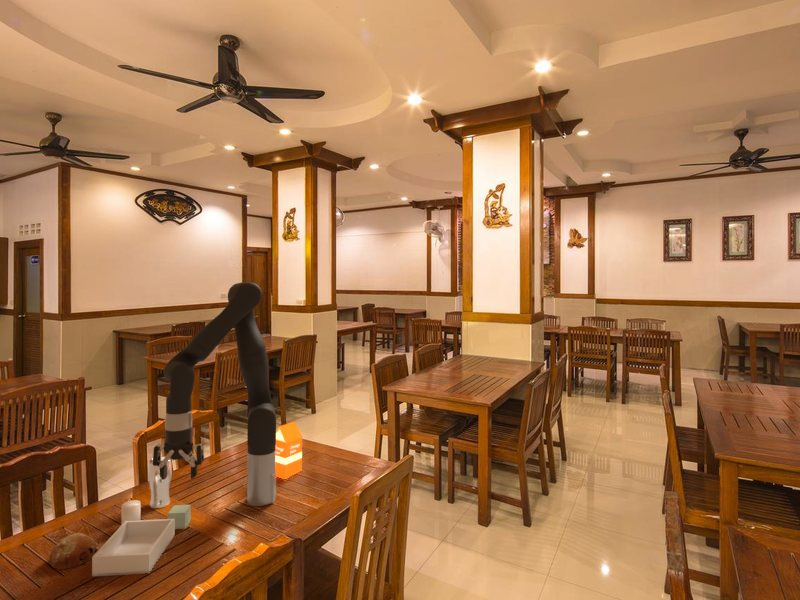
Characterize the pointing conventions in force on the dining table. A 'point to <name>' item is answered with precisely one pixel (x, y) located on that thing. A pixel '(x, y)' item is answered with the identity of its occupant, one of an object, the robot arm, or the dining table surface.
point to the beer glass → (159, 485)
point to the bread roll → (72, 551)
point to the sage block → (180, 515)
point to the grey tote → (133, 548)
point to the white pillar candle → (131, 511)
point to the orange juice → (288, 450)
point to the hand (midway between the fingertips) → (178, 478)
